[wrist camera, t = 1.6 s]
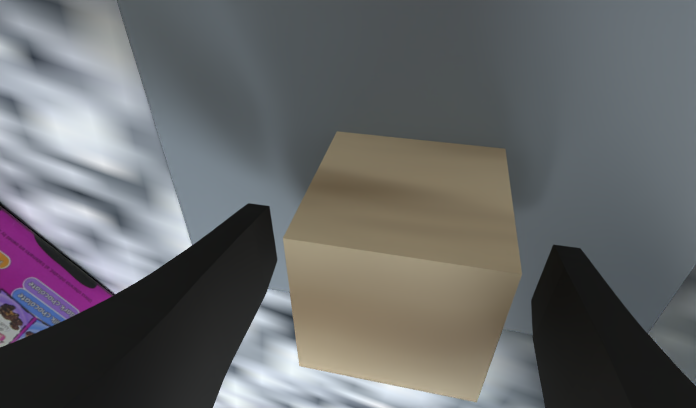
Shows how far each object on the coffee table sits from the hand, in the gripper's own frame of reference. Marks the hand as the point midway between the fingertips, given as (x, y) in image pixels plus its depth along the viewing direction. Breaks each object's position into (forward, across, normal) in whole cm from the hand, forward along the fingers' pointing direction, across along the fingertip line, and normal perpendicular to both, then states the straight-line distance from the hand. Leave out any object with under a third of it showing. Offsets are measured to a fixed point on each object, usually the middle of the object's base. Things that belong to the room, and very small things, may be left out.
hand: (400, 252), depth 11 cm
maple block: (+2, 0, 0) cm, 2 cm away
